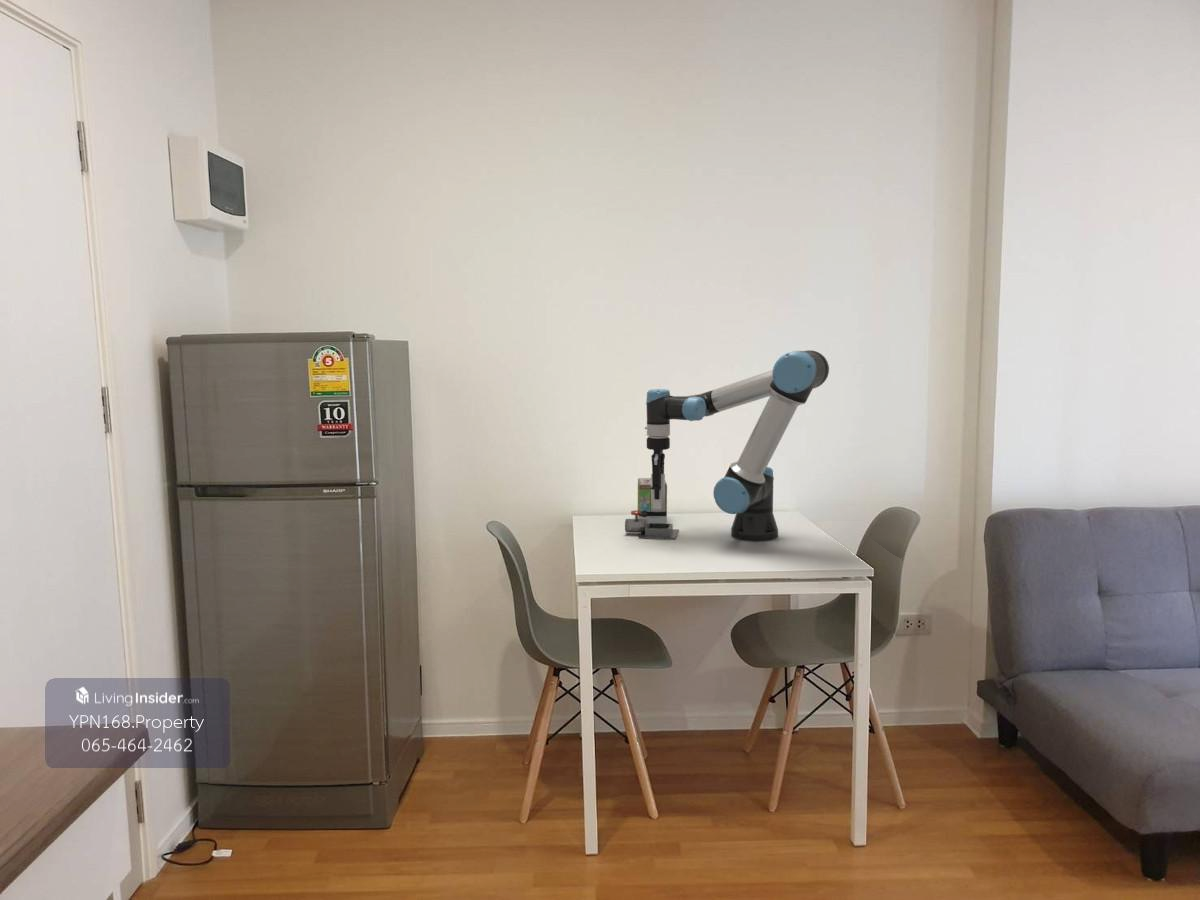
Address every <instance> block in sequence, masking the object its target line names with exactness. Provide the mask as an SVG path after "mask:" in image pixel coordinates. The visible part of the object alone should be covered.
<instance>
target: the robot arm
mask: <svg viewBox="0 0 1200 900" xmlns="http://www.w3.org/2000/svg"><path fill="white" fill-rule="evenodd" d="M829 374H830V365H829V362H828V360H827V358H826V357H825V356H824V355H823V354H822V353H820V352H818V351H815V350H793V351H789V352H786V353H784V354H783V355H781V356H780V357H779V358H778V359H777V360H776V362H775V363H774V366H773V368H772V369H771V370H769V371H766V372H762V373H759V374H756V375H753V376H750V377H748V378H745V379H741V380H739V381H736V382H733V383H731V384H727V385H724V386H721V387H717V388H715V389H712V390H709V391H706V392H702V393H699V394H693V395H687V396H686V395H685V396H681V395H680V396H678V395H677V396H675V395H671V392H670V390H669V389H665V388H664V389H663V388H654V389H649V390H648V391H647V392H646V402H645V405H646V426H645V427H644V429H645V430H646V436H647V438H646V449H648V450H653V453H652V455H651V472H652V473H651V474H652V487H651V489H653V509H662V489H661V474H665V458H666V454H665V453H664V451H665V450H669V449H670V447H671V446H670V445H671V444H670V443H671V442H670V441H671V440H670V437H669V436H670V435H671V420H677V421H690V422H694V421H695V422H696V421H702V419H703V418H704V417H711V416H714V415H715V414H717V413H721V412H723V411H727V410H729V409H733V408H736V407H739V406H742V405H746V404H749V403H752V402H755V401H758V400H762V399H765V398H767V397H769V398H768V400H767V402H766V404H765V406H764V408H763V410H762V411H761V414H760V416H759V418H758V419H757V421H756V424H754V425H755V426H754V428H753V429H752V432H751V433H750V436H749V438H748V440H747V442H746V444H745V446H744V448H743V449H742V452H741V454H740V456H739V458H738V460H737V461H734V462H732V463H730V465H729V467H728V469H727V471H726V473H725V475H724V477H722V478H720V479H719V480H718V481H717V482H716V484H715V485H714V487H713V494H712V495H713V498H714V501H715V504H716V505H717V506H718V509H720V510H721V511H723V512H725V513H726V514H730V515H735V516H734V519H733V522H732V525H731V529H730V536H731V537H732V538H733V539H734V538H735V539H737V540H742V541H750V542H762V541H763V542H766V541H772V540H775V539H777V538H778V537H779V528H778V525H777V522H776V519H775V516H774V480H775V478H774V470H773V469H772V468H771V467H768V465H769V463H770V461H771V459H772V458H773V456H774V453H775V452H776V449H777V448H778V446H779V444H780V442H781V440H782V438H783V435H784V434H785V432H786V430H787V428H788V426H789V424H790V422H791V420H792V418H793V416H794V415H795V413H796V410H797V409H798V407H799V406H801V405H805V404H807V401H808V399H809V396H810V395H811V393H812V392H813V390H814V389H816V388H819V387H820V386H822V385H823V384H825V382H826V381H827V379H828V376H829ZM666 483H667V482H666ZM666 483H665V486H666Z"/></svg>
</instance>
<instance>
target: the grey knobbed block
mask: <svg viewBox="0 0 1200 900" xmlns="http://www.w3.org/2000/svg"><path fill="white" fill-rule="evenodd" d="M630 514H631V515H632V516H634V518H626V519H625V521H624V532H625V533H631V534H633V533H636V534H639V535H638V538H637V539H639V540H642V539H643V540H671V541H672V540H676V539H677V537H678V534H679V532H680V529H675V528H674V527H673V526H674V524H673V523H648V520H647V519H638V515H641V514H642V511H638V509H637V510H631V511H630Z"/></svg>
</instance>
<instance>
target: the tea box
mask: <svg viewBox="0 0 1200 900" xmlns="http://www.w3.org/2000/svg"><path fill="white" fill-rule="evenodd" d="M665 483H666V486H665V511H663V512H653V511H651V477H645V478H644V477H640V478H637V510H638V511H642V514H641V515H638V519H647V520H648V523H667V522H668V484H667V482H666V480H665ZM667 524H668V523H667Z"/></svg>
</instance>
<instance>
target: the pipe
mask: <svg viewBox="0 0 1200 900" xmlns="http://www.w3.org/2000/svg"><path fill="white" fill-rule="evenodd" d="M650 478H651V487H652V473H651V474H650ZM665 481H666V474H665V473H664V474H661V489H662V509H653V489H651V511H653V512H663V511H665Z"/></svg>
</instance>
